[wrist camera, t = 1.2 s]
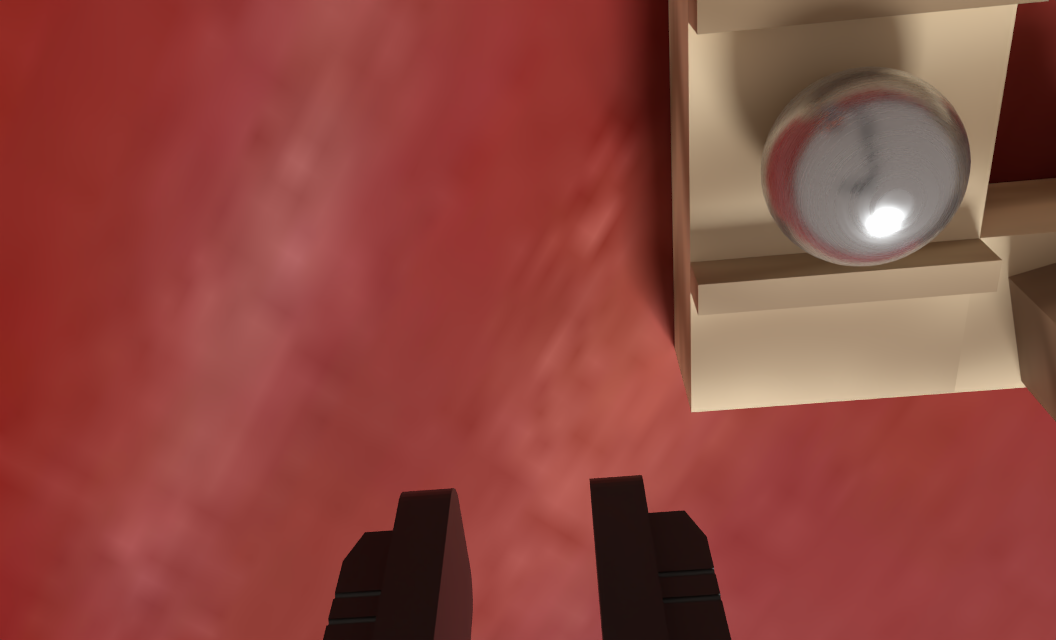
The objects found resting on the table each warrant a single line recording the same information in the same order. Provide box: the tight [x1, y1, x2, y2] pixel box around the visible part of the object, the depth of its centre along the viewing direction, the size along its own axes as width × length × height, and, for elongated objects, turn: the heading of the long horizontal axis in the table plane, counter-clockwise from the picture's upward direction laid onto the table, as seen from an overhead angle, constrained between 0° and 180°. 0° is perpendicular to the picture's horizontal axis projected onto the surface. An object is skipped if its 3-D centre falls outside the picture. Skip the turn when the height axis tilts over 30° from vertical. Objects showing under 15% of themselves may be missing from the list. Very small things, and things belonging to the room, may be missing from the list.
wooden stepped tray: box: [668, 0, 1056, 412], centre depth 25 cm, size 18×18×7 cm
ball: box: [761, 67, 971, 266], centre depth 23 cm, size 5×5×5 cm
